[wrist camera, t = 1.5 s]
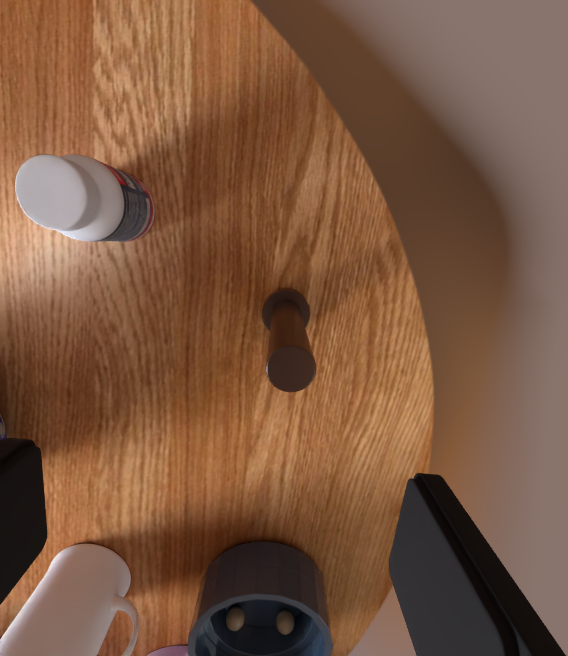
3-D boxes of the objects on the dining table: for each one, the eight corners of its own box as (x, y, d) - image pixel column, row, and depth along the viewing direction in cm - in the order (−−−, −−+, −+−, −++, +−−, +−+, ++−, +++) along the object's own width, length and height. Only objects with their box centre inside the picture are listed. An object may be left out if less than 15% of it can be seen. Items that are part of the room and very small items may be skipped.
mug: (158, 543, 36) (101, 688, 24) (164, 605, 38) (113, 766, 26) (45, 542, 36) (-68, 688, 24) (57, 604, 38) (-43, 767, 26)
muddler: (311, 290, 29) (338, 333, 16) (305, 335, 30) (327, 411, 17) (265, 285, 29) (253, 324, 16) (261, 330, 30) (245, 403, 17)
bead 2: (295, 606, 37) (295, 626, 35) (292, 619, 38) (293, 640, 36) (277, 604, 37) (276, 624, 35) (275, 618, 38) (274, 638, 36)
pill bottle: (163, 186, 27) (109, 162, 18) (147, 250, 28) (90, 254, 20) (97, 162, 27) (9, 125, 18) (84, 228, 28) (-4, 223, 19)
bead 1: (246, 602, 37) (244, 622, 35) (244, 616, 38) (242, 636, 36) (227, 601, 37) (224, 621, 35) (226, 615, 38) (223, 635, 36)
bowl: (332, 542, 36) (342, 599, 30) (315, 635, 39) (321, 703, 34) (205, 531, 35) (191, 588, 30) (199, 627, 39) (185, 695, 33)
